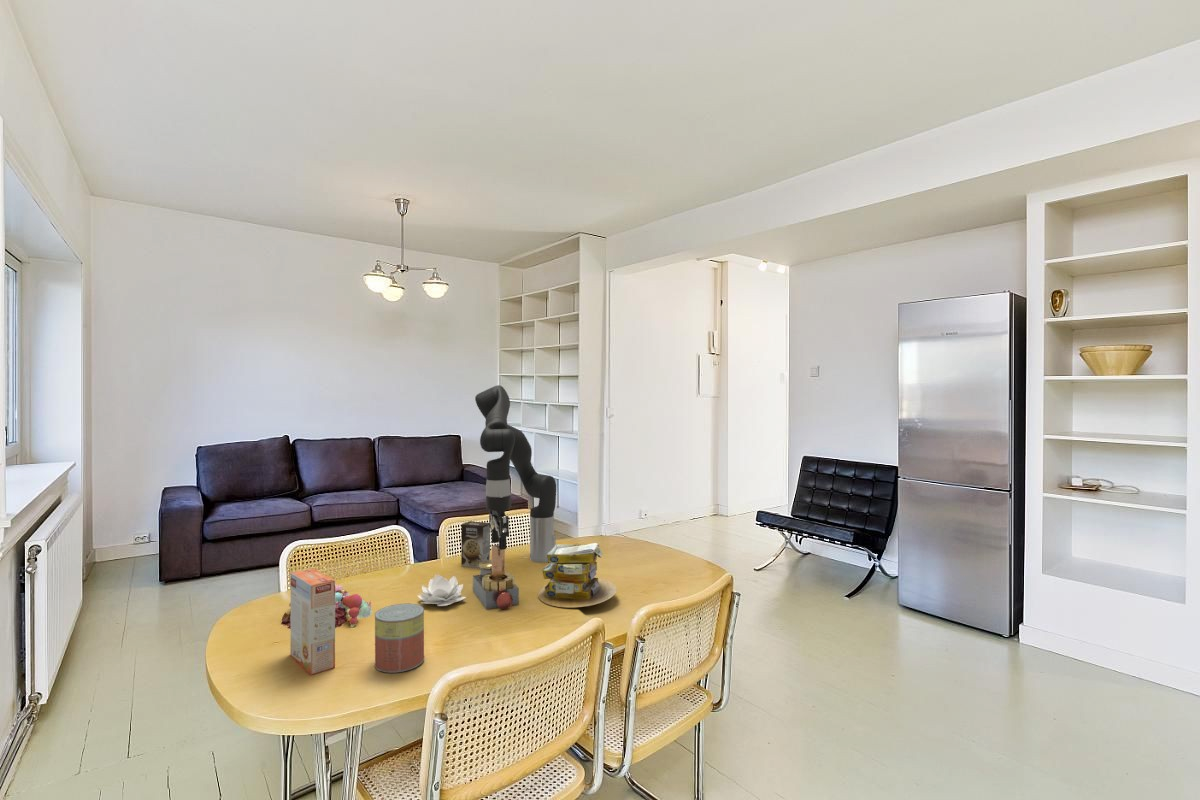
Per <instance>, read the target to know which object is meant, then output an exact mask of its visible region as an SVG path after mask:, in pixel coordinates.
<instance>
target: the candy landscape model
mask: <svg viewBox="0 0 1200 800" xmlns="http://www.w3.org/2000/svg"><path fill="white" fill-rule="evenodd" d="M288 606H289V607H290V608H289V609H287V610H286V611H285V612H284V613H283V615H282V617H281V618H282V619H281V624H283V627H285V626H286V627H287V629H289V630H291V602H289V604H288ZM372 615H373V608H372V602H371V600H369V602H367V601H365V600H364V599H363V598H362V596H361V595H359V594H358V593H353V594H351V595H350V593H349V592H348V591H346V590H345V589H343V586H342V585H341V584H340V585H338V584H336V583H335V628H340V627H342V625H344V624H345V623H346V622H347V621H348V617H350V619H349V623H350V626H349V627H350V628H354V627H355V626H357V622H358V619H366V618H369V617H371V616H372ZM357 618H358V619H357Z"/></svg>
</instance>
